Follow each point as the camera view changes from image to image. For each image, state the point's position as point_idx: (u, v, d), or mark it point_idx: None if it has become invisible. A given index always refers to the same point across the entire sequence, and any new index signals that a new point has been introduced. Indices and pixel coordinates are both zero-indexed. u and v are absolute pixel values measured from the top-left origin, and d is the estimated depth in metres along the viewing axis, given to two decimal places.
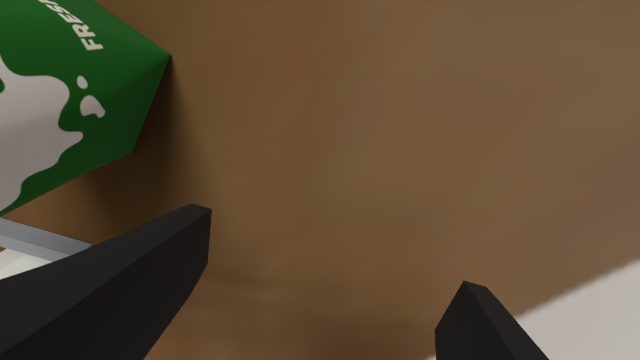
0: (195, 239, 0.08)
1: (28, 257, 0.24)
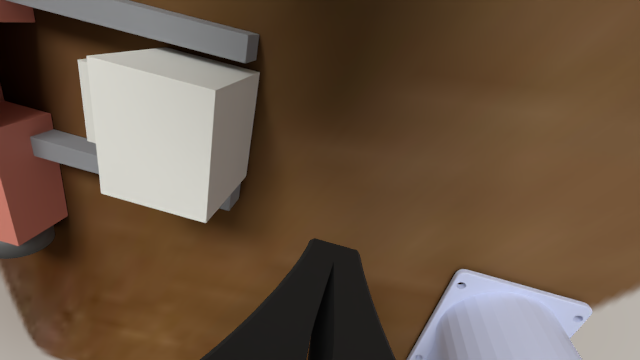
0: (328, 277, 0.08)
1: (159, 51, 0.15)
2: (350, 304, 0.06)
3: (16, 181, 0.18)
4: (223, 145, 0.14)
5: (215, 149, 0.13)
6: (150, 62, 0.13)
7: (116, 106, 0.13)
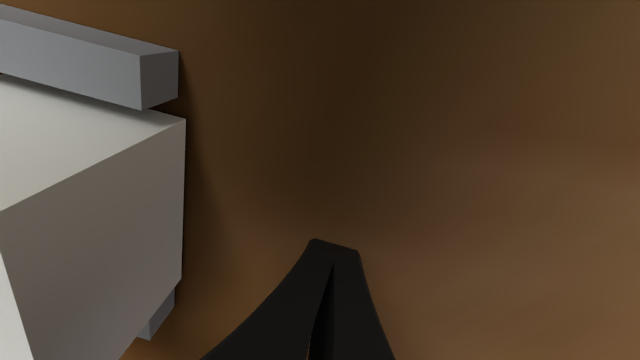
0: (328, 277, 0.08)
1: None
2: (350, 304, 0.06)
3: None
4: (86, 289, 0.07)
5: (48, 317, 0.06)
6: None
7: None
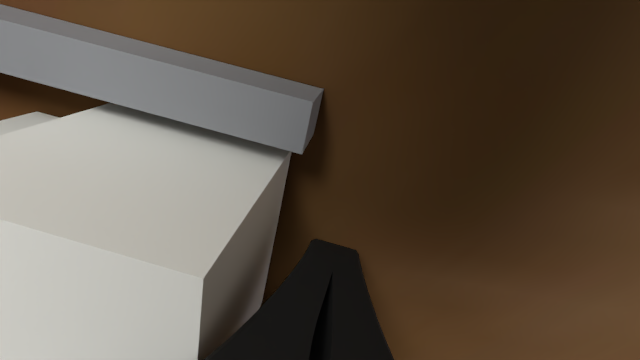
0: None
1: (98, 116, 0.08)
2: (348, 304, 0.06)
3: None
4: (225, 330, 0.07)
5: None
6: (54, 167, 0.06)
7: None
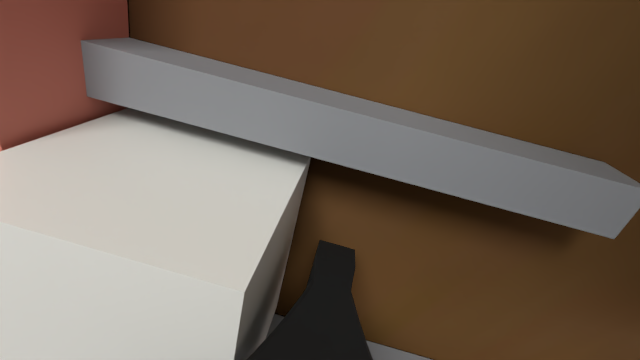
0: None
1: (118, 123, 0.08)
2: (328, 298, 0.06)
3: None
4: (252, 339, 0.06)
5: None
6: (82, 176, 0.05)
7: None
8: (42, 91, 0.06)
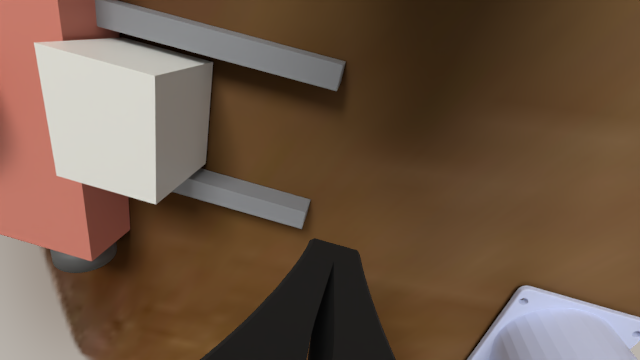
0: (328, 277, 0.08)
1: (114, 40, 0.16)
2: (350, 304, 0.06)
3: (94, 199, 0.19)
4: (172, 130, 0.15)
5: (161, 132, 0.14)
6: (99, 50, 0.14)
7: (65, 91, 0.13)
8: (78, 18, 0.14)
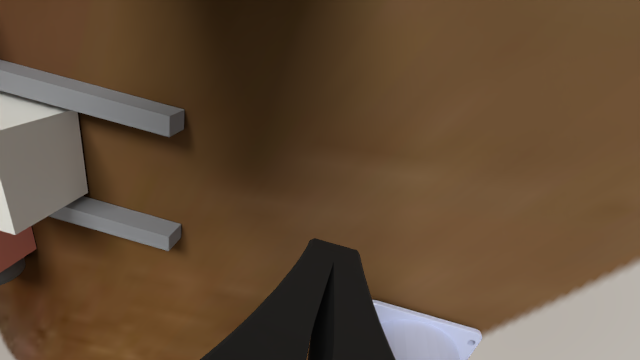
0: (328, 277, 0.08)
1: None
2: (350, 304, 0.06)
3: None
4: (25, 172, 0.17)
5: (9, 176, 0.16)
6: None
7: None
8: None
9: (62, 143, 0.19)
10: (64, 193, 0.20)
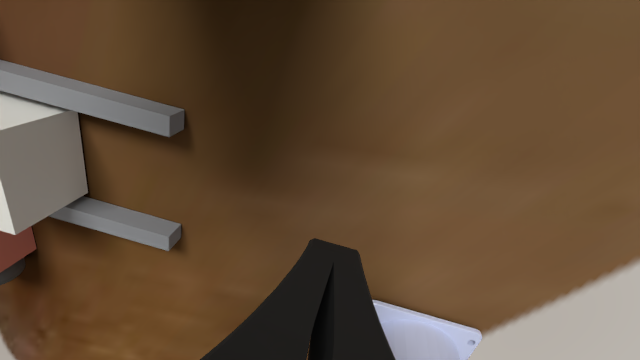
0: (328, 277, 0.08)
1: None
2: (350, 304, 0.06)
3: None
4: (25, 172, 0.17)
5: (9, 176, 0.16)
6: None
7: None
8: None
9: (62, 143, 0.19)
10: (64, 193, 0.20)
